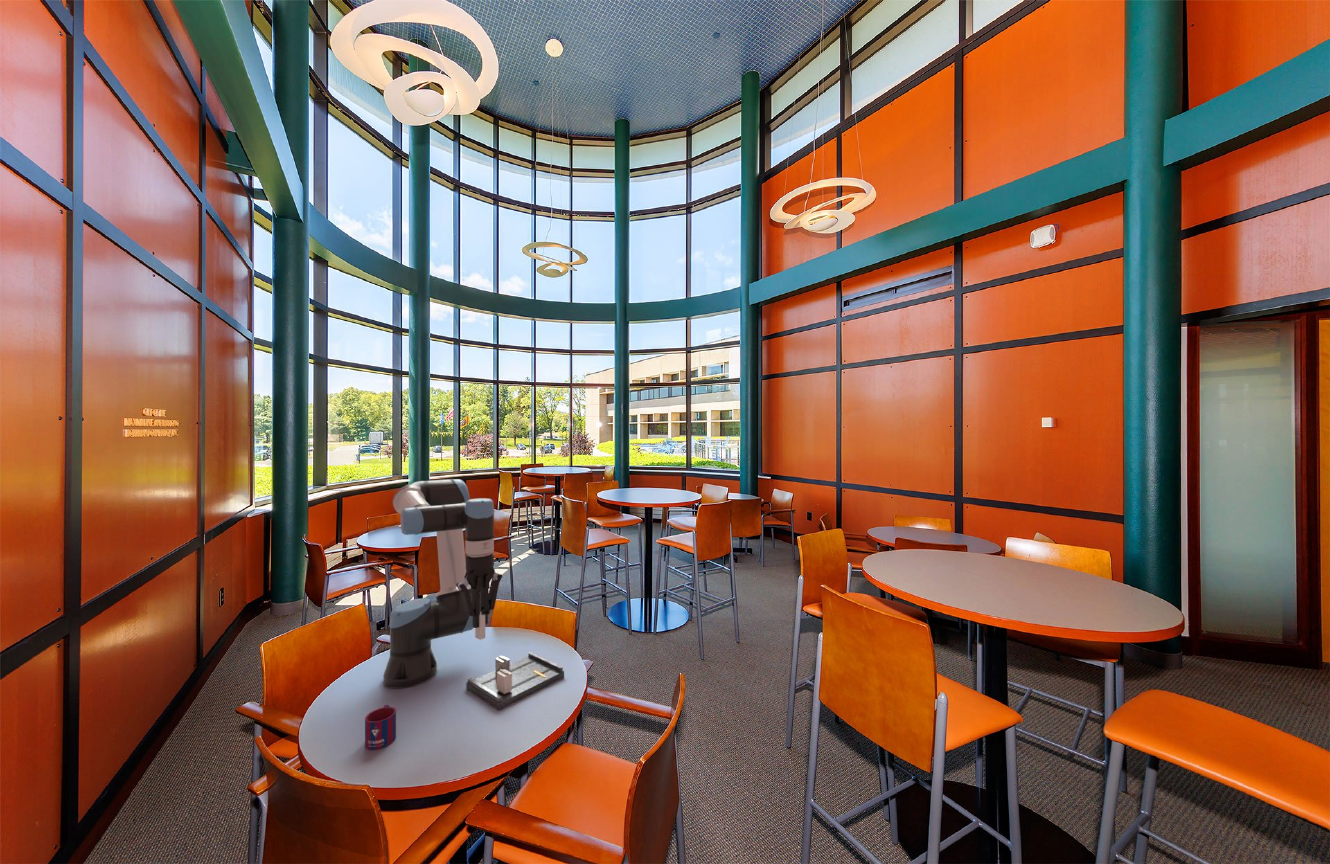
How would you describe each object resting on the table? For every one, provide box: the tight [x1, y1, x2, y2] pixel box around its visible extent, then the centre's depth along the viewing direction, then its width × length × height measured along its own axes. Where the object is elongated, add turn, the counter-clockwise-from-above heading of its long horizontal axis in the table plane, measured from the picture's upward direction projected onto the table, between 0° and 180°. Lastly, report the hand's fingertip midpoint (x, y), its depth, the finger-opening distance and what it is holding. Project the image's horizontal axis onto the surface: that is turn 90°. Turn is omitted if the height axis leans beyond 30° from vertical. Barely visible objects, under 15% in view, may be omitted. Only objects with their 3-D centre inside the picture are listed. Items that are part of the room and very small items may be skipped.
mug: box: [364, 704, 397, 751], centre depth 119 cm, size 7×10×7 cm
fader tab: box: [497, 669, 512, 694], centre depth 136 cm, size 4×2×5 cm, turn 51°
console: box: [465, 651, 565, 711], centre depth 145 cm, size 18×23×7 cm
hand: (480, 637), depth 131 cm, fingers closed
